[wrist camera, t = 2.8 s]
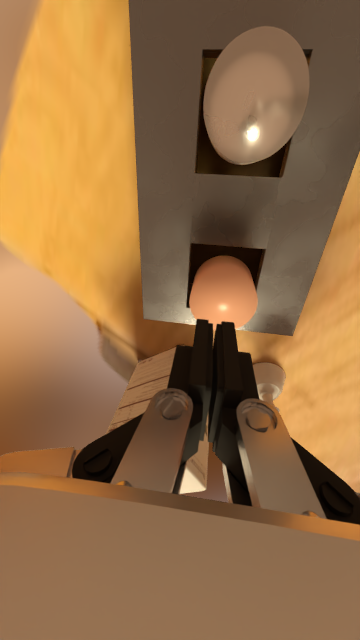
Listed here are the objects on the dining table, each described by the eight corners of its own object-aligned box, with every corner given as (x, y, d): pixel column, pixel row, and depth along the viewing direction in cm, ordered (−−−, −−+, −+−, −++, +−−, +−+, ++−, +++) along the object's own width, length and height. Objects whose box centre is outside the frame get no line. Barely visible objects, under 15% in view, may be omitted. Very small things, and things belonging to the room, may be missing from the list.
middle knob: (300, 60, 11) (325, 25, 8) (277, 166, 13) (291, 165, 10) (211, 60, 11) (208, 26, 9) (203, 163, 13) (199, 160, 11)
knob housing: (439, -256, 10) (668, -703, 5) (277, 301, 24) (292, 336, 19) (156, -222, 11) (103, -552, 6) (159, 289, 25) (143, 319, 20)
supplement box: (213, 382, 31) (209, 493, 20) (166, 397, 34) (141, 500, 23) (185, 341, 28) (163, 444, 17) (136, 360, 31) (91, 459, 20)
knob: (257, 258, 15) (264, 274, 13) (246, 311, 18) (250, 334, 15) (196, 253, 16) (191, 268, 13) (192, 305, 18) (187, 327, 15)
